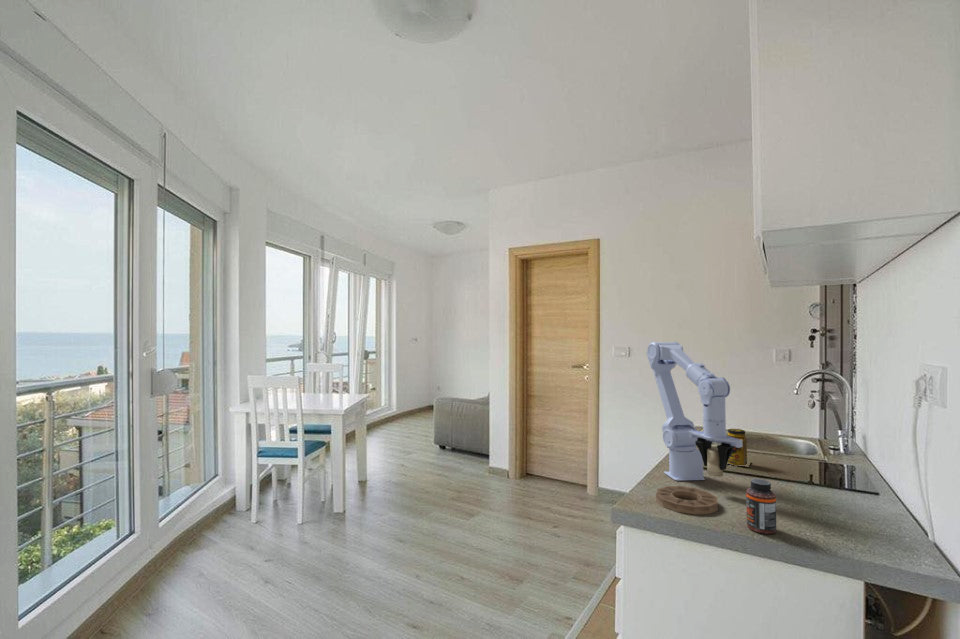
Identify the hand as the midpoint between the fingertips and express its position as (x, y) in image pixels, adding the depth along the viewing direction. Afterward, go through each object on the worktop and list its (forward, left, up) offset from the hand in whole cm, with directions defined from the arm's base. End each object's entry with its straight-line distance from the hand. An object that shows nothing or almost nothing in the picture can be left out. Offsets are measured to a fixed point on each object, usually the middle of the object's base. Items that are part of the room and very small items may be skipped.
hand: (714, 467), depth 129 cm
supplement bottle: (+3, +23, -8) cm, 24 cm away
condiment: (-25, -27, -8) cm, 38 cm away
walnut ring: (+12, +6, -8) cm, 15 cm away
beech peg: (0, 0, -2) cm, 2 cm away
